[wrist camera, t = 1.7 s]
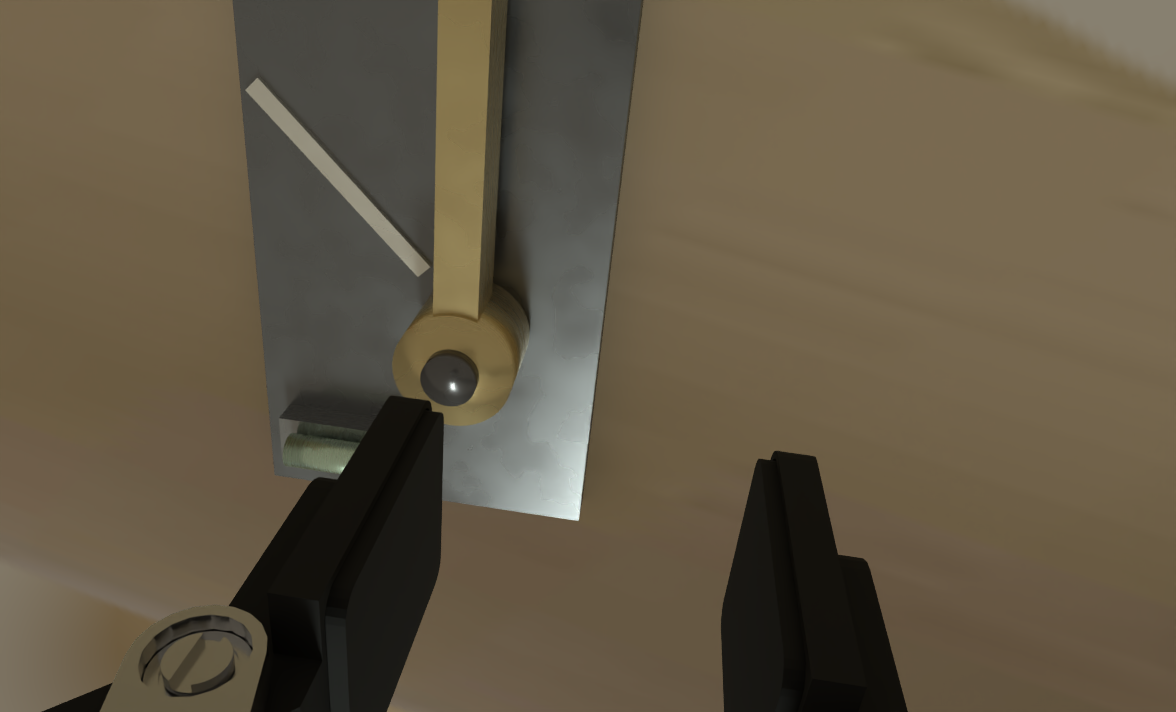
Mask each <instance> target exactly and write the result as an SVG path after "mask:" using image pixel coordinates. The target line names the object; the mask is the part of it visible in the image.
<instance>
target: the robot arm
mask: <svg viewBox="0 0 1176 712" xmlns="http://www.w3.org/2000/svg"><path fill="white" fill-rule="evenodd" d="M443 443H444V416H443V413H441V412H434V411H432V406H431V402H430V401H429V400H422V399H415V398H408V397H401V396H394V395H391V396H389V398H388V399H387V400H386V402H385V403H384V405H383V407H382V408H381V410H380V411H379V413H378V415H377V416H376V418H375V419H374V421H373V423H372V424H371V426H370V428H369V429H368V431H367V432H366V434H365V436H364V437H363V439H362V440H361V442H360V444H359V445H358V447H357V448H356V450H355V452H354V453H353V455H352V457H351V458H350V460H349V461H348V463H347V465H346V466H345V468H344V469H343V471H342V473H341V474H340V476H339V478H338V479H331V478H324V477H318V478H316V479H314V480H313V481H312V482H311V483H310V484H309V486H308V487H307V489H306V490H305V492H304V493H303V495H302V496H301V498H300V499H299V501H298V502H297V504H296V505H295V507H294V508H293V510H292V511H291V513H290V514H289V516H288V517H287V519H286V520H285V522H284V523H283V525H282V526H281V528H280V529H279V531H278V532H277V534H276V535H275V537H274V538H273V540H272V541H271V543H270V544H269V546H268V547H267V549H266V550H265V552H264V553H263V555H262V556H261V558H260V559H259V561H258V562H257V564H256V565H255V567H254V568H253V570H252V571H251V573H250V574H249V576H248V577H247V579H246V581H245V582H244V584H243V585H242V587H241V588H240V590H239V591H238V593H237V594H236V596H235V597H234V599H233V600H232V602H231V603H230V605H229V606H221V605H208V606H199V607H192V608H189V609H186V610H183V611H180V612H177V613H173V614H171V615H169V616H167V617H165V618H164V619H162V620H160V621H158V622H156V623H155V624H153V625H151V626H150V627H149V628H148V629H147V630H146V631H145V632H143V633H142V634H141V635H140V636H139V637H138V638H137V639H136V640H135V641H134V643H133V644H132V646H131V647H130V649H129V650H128V652H127V653H126V655H125V657H124V659H123V661H122V663H121V666H120V668H119V670H118V672H117V674H116V677H115V679H114V681H113V683H111V684H109V685H106V686H104V687H101V688H99V689H96V690H94V691H92V692H89V693H87V694H84V695H82V696H79V697H77V698H74V699H72V700H69V701H67V702H64V703H62V704H60V705H57V706H55V707H52V708H50V709H47V710H45V711H43V712H387V709H388V707H389V704H390V702H391V699H392V696H393V694H394V691H395V688H396V686H397V683H398V681H399V678H400V675H401V673H402V670H403V667H404V665H405V662H406V659H407V657H408V654H409V652H410V649H411V646H412V644H413V641H414V638H415V636H416V633H417V631H418V628H419V625H420V623H421V620H422V617H423V615H424V612H425V610H426V607H427V604H428V602H429V599H430V596H431V594H432V591H433V589H434V586H435V583H436V580H437V576H438V572H439V567H440V558H441V523H442V483H443ZM721 639H722V666H723V692H724V712H908V711H907V707H906V703H905V700H904V696H903V692H902V688H901V685H900V681H899V677H898V673H897V670H896V666H895V662H894V658H893V654H892V651H891V647H890V643H889V639H888V636H887V632H886V628H885V624H884V620H883V617H882V613H881V609H880V605H879V602H878V598H877V594H876V590H875V586H874V583H873V579H872V575H871V571H870V569H869V566H868V563H867V562H866V561H865V560H864V559H863V558H857V557H850V556H843V555H838V553H837V549H836V544H835V540H834V535H833V531H832V526H831V522H830V517H829V513H828V508H827V504H826V499H825V495H824V490H823V486H822V481H821V477H820V472H819V468H818V463H817V460H816V457H814V456H809V455H802V454H795V453H788V452H781V451H775V452H773V455H772V457H771V460H764V459H758V461H757V463H756V466H755V470H754V474H753V479H752V483H751V487H750V491H749V495H748V500H747V504H746V508H745V512H744V517H743V521H742V525H741V529H740V534H739V538H738V542H737V546H736V551H735V555H734V559H733V563H732V568H731V572H730V576H729V580H728V585H727V589H726V593H725V597H724V602H723V608H722V617H721Z"/></svg>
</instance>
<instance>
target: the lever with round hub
mask: <svg viewBox="0 0 1176 712" xmlns="http://www.w3.org/2000/svg"><path fill="white" fill-rule="evenodd" d="M507 4H508V0H438V39H437V99H436V158H435V218H434V278H433V293H432V294H431V295H430V296H429V298H428V299H427V301H426V302H425V303H424V305H423V306H422V308H421V309H420V311H419V312H418V314H417V315H416V317H415V318H414V320H413V321H412V323H411V324H410V326H409V327H408V329H407V330H406V332H405V333H404V335H403V336H402V338H401V339H400V341H399V342H398V344H397V346H396V348H395V351H394V355H393V360H392V370H393V376H394V380H395V383H396V385H397V387H398V389H399V391H400V393H401V394H402V396H403V397H408V398H415V399H422V400H429V401H430V402H431V406H432V411H434V412H441V413H443V416H444V424H447V425H454V426H467V425H473V424H477V423H480V422H483V421H485V420H487V419H489V418H491V417H492V416H494V415H495V414H496V413H498V412H499V410H500V409H501V408H502V407H503V406H504V404H505V403H506V401H507V399H508V397H509V395H510V392H511V390H512V387H513V384H514V382H515V379H516V376H517V374H518V371H519V368H520V366H521V363H522V360H523V358H524V355H525V352H526V350H527V347H528V343H529V324H528V320H527V317H526V315H525V312H524V310H523V309H522V307H521V305H520V304H519V303H518V301H517V300H516V299H515V298H514V297H513V296H512V295H511V294H510V293H509V292H507V291H506V290H505V289H503V288H502V287H500V286H498V285H496V284H494V283H493V271H494V252H495V233H496V214H497V195H498V176H499V156H500V137H501V118H502V99H503V80H504V61H505V42H506V23H507Z"/></svg>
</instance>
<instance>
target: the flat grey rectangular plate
mask: <svg viewBox="0 0 1176 712" xmlns="http://www.w3.org/2000/svg"><path fill="white" fill-rule="evenodd" d="M642 8H643V0H508V4H507V23H506V42H505V61H504V80H503V99H502V118H501V137H500V156H499V176H498V195H497V214H496V233H495V252H494V271H493V283H494V284H496V285H498V286H500V287H502V288H503V289H505V290H506V291H507V292H509V293H510V294H511V295H512V296H513V297H514V298H515V299H516V300H517V301H518V303H519V304H520V305H521V307H522V309H523V310H524V312H525V315H526V317H527V320H528V324H529V343H528V347H527V350H526V352H525V355H524V358H523V360H522V363H521V366H520V368H519V371H518V374H517V376H516V379H515V382H514V384H513V387H512V390H511V392H510V395H509V397H508V399H507V401H506V403H505V404H504V406H503V407H502V408H501V409H500V410H499V412H498V413H496V414H495V415H494V416H492V417H491V418H489V419H487V420H485V421H483V422H480V423H477V424H473V425H467V426H454V425H447V424H444V443H443V483H442V500H444V501H450V502H457V503H464V504H470V505H477V506H484V507H490V508H497V509H504V510H510V511H517V512H523V513H530V514H537V515H543V516H550V517H557V518H563V519H570V520H577V521H579V516H580V510H581V505H582V499H583V491H584V483H585V475H586V466H587V458H588V450H589V442H590V434H591V425H592V417H593V409H594V401H595V393H596V384H597V376H598V368H599V360H600V352H601V344H602V335H603V327H604V319H605V311H606V303H607V294H608V286H609V278H610V270H611V262H612V253H613V245H614V237H615V229H616V221H617V212H618V204H619V196H620V188H621V180H622V171H623V163H624V155H625V147H626V139H627V130H628V122H629V114H630V106H631V98H632V90H633V81H634V73H635V65H636V57H637V49H638V40H639V32H640V24H641V16H642ZM233 9H234V21H235V32H236V43H237V55H238V66H239V77H240V88H241V100H242V111H243V122H244V133H245V145H246V156H247V167H248V179H249V190H250V201H251V212H252V224H253V235H254V246H255V257H256V269H257V280H258V291H259V303H260V314H261V325H262V336H263V348H264V359H265V370H266V381H267V393H268V404H269V415H270V427H271V438H272V449H273V460H274V472H275V475H278V476H284V477H291V478H298V479H304V480H311V481H313V480H314V479H316V478H318V477H324V478H331V479H338V478H339V476H340V474H341V473H342V471H343V469H344V468H345V466H346V465H347V463H348V461H349V460H350V458H351V457H352V455H353V453H354V452H355V450H356V448H357V447H358V445H359V444H360V442H361V440H362V439H363V437H364V436H365V434H366V432H367V431H368V429H369V428H370V426H371V424H372V423H373V421H374V419H375V418H376V416H377V415H378V413H379V411H380V410H381V408H382V407H383V405H384V403H385V402H386V400H387V399H388V398H389V396H391V395H394V396H401V397H403V396H402V394H401V393H400V391H399V389H398V387H397V385H396V383H395V380H394V376H393V370H392V360H393V355H394V351H395V348H396V346H397V344H398V342H399V341H400V339H401V338H402V336H403V335H404V333H405V332H406V330H407V329H408V327H409V326H410V324H411V323H412V321H413V320H414V318H415V317H416V315H417V314H418V312H419V311H420V309H421V308H422V306H423V305H424V303H425V302H426V301H427V299H428V298H429V296H430V295H431V294H432V293H433V278H434V218H435V158H436V99H437V39H438V0H233Z"/></svg>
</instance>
